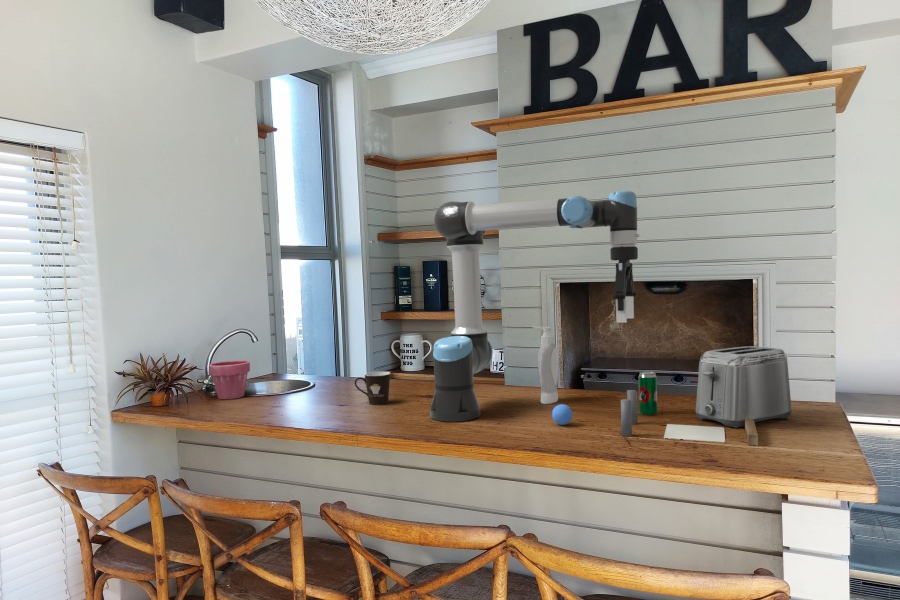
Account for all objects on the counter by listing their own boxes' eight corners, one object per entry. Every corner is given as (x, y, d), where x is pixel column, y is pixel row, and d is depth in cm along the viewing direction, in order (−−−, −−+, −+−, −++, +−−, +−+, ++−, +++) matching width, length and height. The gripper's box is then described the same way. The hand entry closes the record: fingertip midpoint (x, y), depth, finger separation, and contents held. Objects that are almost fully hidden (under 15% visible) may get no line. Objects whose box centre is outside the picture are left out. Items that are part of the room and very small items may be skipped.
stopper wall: (748, 445, 145) (748, 434, 145) (745, 428, 160) (744, 418, 160) (757, 446, 144) (757, 435, 144) (753, 429, 159) (753, 419, 159)
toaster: (683, 419, 172) (682, 351, 171) (759, 406, 184) (758, 343, 183) (732, 432, 157) (731, 358, 156) (811, 417, 168) (811, 348, 168)
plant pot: (228, 392, 237) (227, 359, 237) (259, 393, 233) (257, 360, 232) (202, 400, 224) (200, 365, 223) (234, 401, 219) (232, 366, 218)
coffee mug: (396, 401, 209) (395, 372, 209) (380, 406, 202) (379, 376, 201) (370, 398, 215) (368, 370, 215) (353, 403, 208) (352, 374, 208)
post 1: (620, 436, 157) (620, 401, 156) (622, 433, 159) (621, 399, 159) (631, 436, 156) (630, 401, 155) (632, 434, 158) (631, 399, 158)
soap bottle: (541, 396, 209) (539, 324, 208) (563, 397, 205) (561, 325, 204) (527, 404, 198) (525, 328, 197) (550, 405, 194) (548, 328, 193)
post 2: (627, 424, 168) (626, 391, 168) (628, 421, 171) (627, 389, 170) (636, 424, 167) (636, 391, 167) (638, 422, 170) (637, 390, 169)
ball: (550, 426, 169) (549, 406, 169) (554, 421, 174) (554, 402, 174) (570, 427, 167) (569, 407, 166) (574, 422, 172) (574, 403, 172)
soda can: (658, 415, 177) (657, 374, 176) (640, 415, 178) (639, 374, 177) (656, 411, 182) (655, 371, 181) (638, 411, 183) (637, 371, 182)
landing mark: (663, 438, 153) (663, 437, 153) (667, 424, 166) (667, 424, 166) (725, 442, 148) (725, 441, 148) (724, 428, 161) (724, 427, 161)
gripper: (630, 244, 163) (632, 324, 164) (643, 246, 186) (644, 316, 187) (602, 245, 166) (603, 324, 167) (617, 247, 189) (619, 316, 190)
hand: (625, 320), depth 177 cm, fingers open, 13 cm apart
